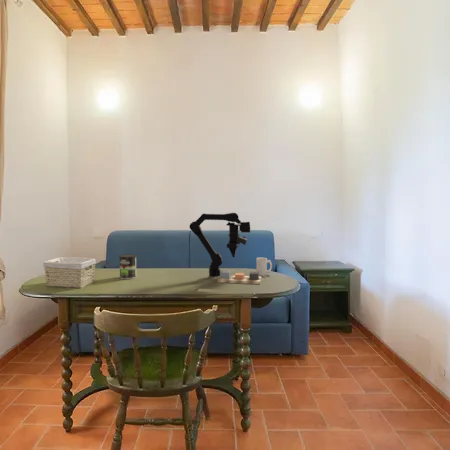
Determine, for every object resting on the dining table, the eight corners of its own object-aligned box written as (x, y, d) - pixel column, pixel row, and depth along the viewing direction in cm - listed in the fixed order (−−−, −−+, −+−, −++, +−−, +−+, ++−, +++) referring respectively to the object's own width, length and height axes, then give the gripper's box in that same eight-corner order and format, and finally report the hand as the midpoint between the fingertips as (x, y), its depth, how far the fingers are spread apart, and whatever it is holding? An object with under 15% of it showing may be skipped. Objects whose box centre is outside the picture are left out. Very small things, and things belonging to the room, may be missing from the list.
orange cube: (234, 283, 190) (235, 274, 190) (236, 281, 195) (236, 272, 194) (243, 283, 189) (243, 275, 189) (244, 281, 194) (244, 273, 194)
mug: (256, 278, 204) (257, 259, 203) (255, 275, 211) (255, 257, 210) (272, 278, 204) (273, 259, 203) (271, 275, 211) (271, 257, 210)
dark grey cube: (249, 282, 188) (249, 273, 188) (250, 279, 193) (250, 271, 193) (258, 282, 188) (258, 273, 187) (258, 280, 192) (258, 271, 192)
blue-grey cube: (220, 280, 191) (220, 272, 191) (222, 278, 196) (222, 270, 196) (229, 281, 190) (229, 272, 190) (230, 279, 195) (230, 270, 195)
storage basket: (97, 281, 195) (97, 257, 194) (82, 289, 179) (81, 262, 178) (61, 280, 198) (60, 256, 197) (42, 287, 182) (41, 261, 181)
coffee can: (131, 279, 200) (131, 257, 199) (116, 278, 202) (116, 256, 201) (139, 276, 210) (139, 254, 209) (125, 275, 212) (124, 253, 211)
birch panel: (217, 284, 188) (217, 279, 188) (220, 279, 200) (220, 274, 200) (260, 286, 184) (260, 281, 184) (261, 281, 196) (261, 276, 196)
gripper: (245, 234, 193) (244, 260, 194) (248, 231, 211) (247, 255, 212) (226, 234, 195) (226, 259, 196) (231, 231, 213) (231, 254, 214)
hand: (233, 257), depth 205 cm, fingers closed
